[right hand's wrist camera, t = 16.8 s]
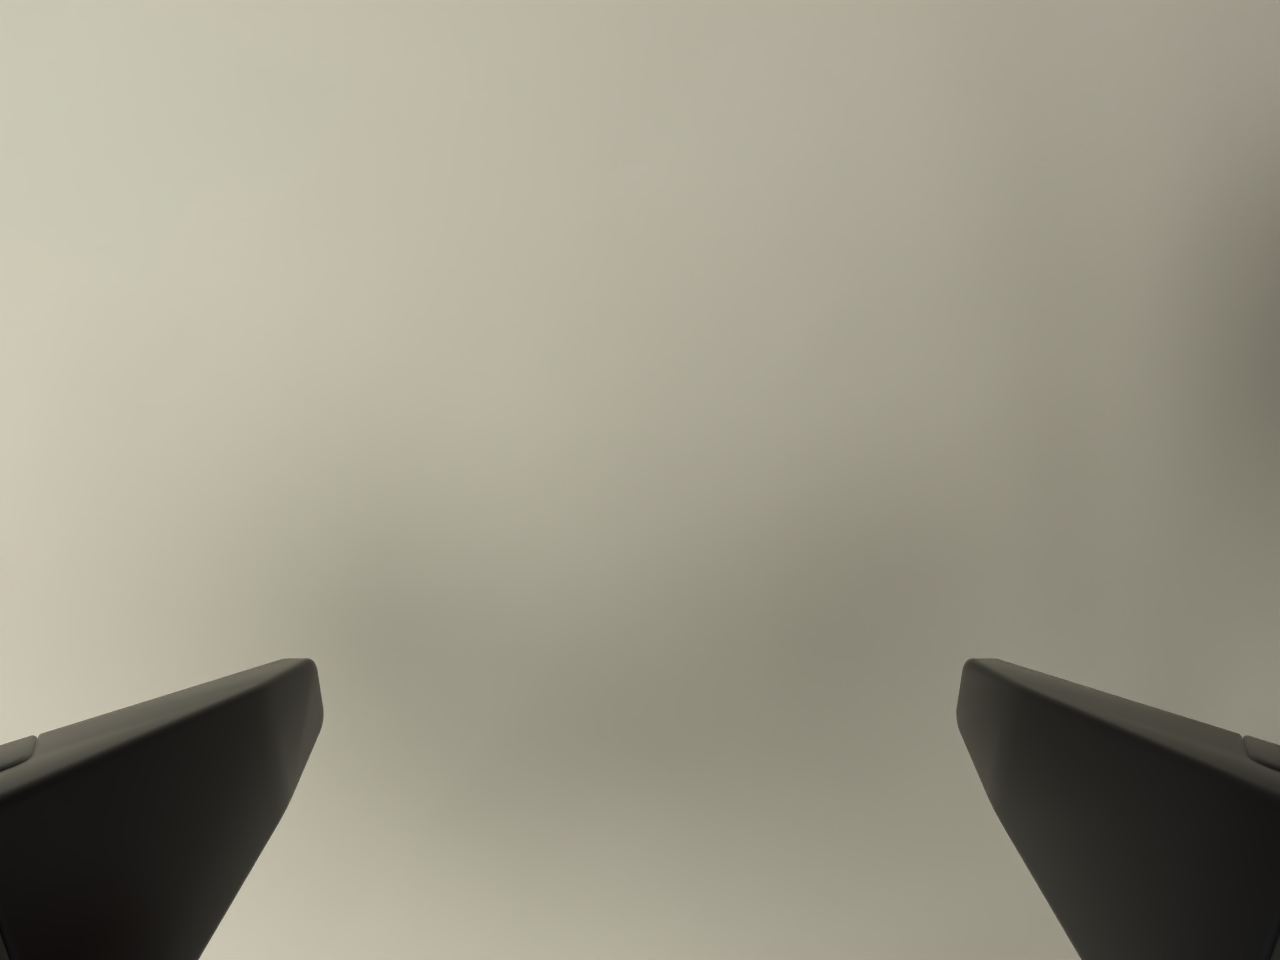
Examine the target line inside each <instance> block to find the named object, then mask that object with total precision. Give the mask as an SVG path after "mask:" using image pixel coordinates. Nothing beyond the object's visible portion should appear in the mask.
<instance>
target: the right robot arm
mask: <svg viewBox="0 0 1280 960" xmlns="http://www.w3.org/2000/svg"><path fill="white" fill-rule="evenodd" d="M322 723H323V704H322V697H321V691H320V684H319V678H318V672H317V667H316V665H315V663H314V661H313V660H311V659H308V658H288V659H281V660H278V661H275V662H271V663H268V664H265V665H262V666H258V667H255V668H252V669H249V670H246V671H242V672H239V673H236V674H233V675H229V676H226V677H223V678H220V679H216V680H213V681H210V682H207V683H204V684H200V685H197V686H194V687H191V688H187V689H184V690H181V691H178V692H174V693H171V694H168V695H165V696H162V697H158V698H155V699H152V700H149V701H145V702H142V703H139V704H136V705H133V706H129V707H126V708H123V709H120V710H116V711H113V712H110V713H107V714H103V715H100V716H97V717H94V718H91V719H87V720H84V721H81V722H78V723H74V724H71V725H68V726H65V727H62V728H58V729H55V730H52V731H49V732H45V733H42V734H40V735H39V736H38V739H37V737H36V736H29V737H26V738H22V739H19V740H16V741H13V742H9V743H6V744H3V745H0V960H199V958H200V956H201V954H202V953H203V951H204V949H205V948H206V946H207V944H208V943H209V941H210V939H211V937H212V936H213V934H214V932H215V931H216V929H217V927H218V925H219V924H220V922H221V920H222V919H223V917H224V915H225V914H226V912H227V910H228V908H229V907H230V905H231V903H232V902H233V900H234V898H235V897H236V895H237V893H238V891H239V890H240V888H241V886H242V885H243V883H244V881H245V879H246V878H247V876H248V874H249V873H250V871H251V869H252V868H253V866H254V864H255V862H256V861H257V859H258V857H259V856H260V854H261V852H262V850H263V849H264V847H265V845H266V844H267V842H268V840H269V839H270V837H271V835H272V833H273V832H274V830H275V828H276V827H277V825H278V823H279V821H280V820H281V818H282V816H283V814H284V812H285V810H286V809H287V806H288V804H289V802H290V800H291V798H292V796H293V793H294V791H295V789H296V786H297V784H298V782H299V779H300V777H301V775H302V772H303V770H304V768H305V765H306V763H307V761H308V758H309V756H310V754H311V751H312V749H313V747H314V744H315V742H316V740H317V737H318V735H319V733H320V730H321V727H322ZM957 723H958V727H959V730H960V733H961V735H962V738H963V740H964V742H965V745H966V747H967V749H968V752H969V754H970V756H971V759H972V761H973V763H974V766H975V768H976V770H977V773H978V775H979V777H980V780H981V782H982V784H983V787H984V789H985V791H986V794H987V796H988V798H989V800H990V802H991V804H992V806H993V809H994V810H995V812H996V814H997V816H998V818H999V820H1000V821H1001V823H1002V825H1003V827H1004V828H1005V830H1006V832H1007V833H1008V835H1009V837H1010V839H1011V840H1012V842H1013V844H1014V845H1015V847H1016V849H1017V850H1018V852H1019V854H1020V856H1021V857H1022V859H1023V861H1024V862H1025V864H1026V866H1027V868H1028V869H1029V871H1030V873H1031V874H1032V876H1033V878H1034V879H1035V881H1036V883H1037V885H1038V886H1039V888H1040V890H1041V891H1042V893H1043V895H1044V897H1045V898H1046V900H1047V902H1048V903H1049V905H1050V907H1051V908H1052V910H1053V912H1054V914H1055V915H1056V917H1057V919H1058V920H1059V922H1060V924H1061V925H1062V927H1063V929H1064V931H1065V932H1066V934H1067V936H1068V937H1069V939H1070V941H1071V943H1072V944H1073V946H1074V948H1075V949H1076V951H1077V953H1078V954H1079V956H1080V958H1081V960H1280V745H1277V744H1274V743H1271V742H1267V741H1264V740H1261V739H1258V738H1254V737H1251V736H1244V737H1243V739H1242V736H1241V735H1240V734H1238V733H1235V732H1231V731H1228V730H1225V729H1222V728H1218V727H1215V726H1212V725H1209V724H1206V723H1202V722H1199V721H1196V720H1193V719H1189V718H1186V717H1183V716H1180V715H1177V714H1173V713H1170V712H1167V711H1164V710H1160V709H1157V708H1154V707H1151V706H1147V705H1144V704H1141V703H1138V702H1135V701H1131V700H1128V699H1125V698H1122V697H1118V696H1115V695H1112V694H1109V693H1105V692H1102V691H1099V690H1096V689H1093V688H1089V687H1086V686H1083V685H1080V684H1076V683H1073V682H1070V681H1067V680H1064V679H1060V678H1057V677H1054V676H1051V675H1047V674H1044V673H1041V672H1038V671H1034V670H1031V669H1028V668H1025V667H1022V666H1018V665H1015V664H1012V663H1009V662H1005V661H1002V660H999V659H992V658H972V659H969V660H967V661H966V663H965V665H964V667H963V672H962V678H961V684H960V691H959V697H958V704H957Z"/></svg>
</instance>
